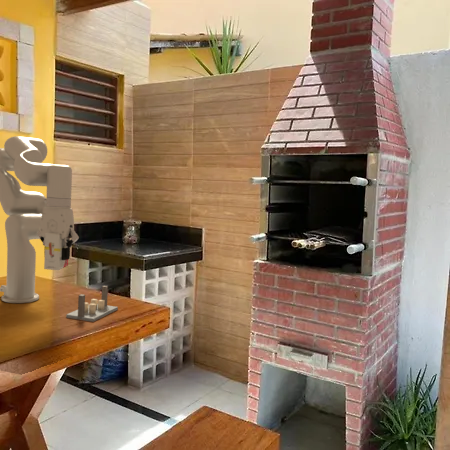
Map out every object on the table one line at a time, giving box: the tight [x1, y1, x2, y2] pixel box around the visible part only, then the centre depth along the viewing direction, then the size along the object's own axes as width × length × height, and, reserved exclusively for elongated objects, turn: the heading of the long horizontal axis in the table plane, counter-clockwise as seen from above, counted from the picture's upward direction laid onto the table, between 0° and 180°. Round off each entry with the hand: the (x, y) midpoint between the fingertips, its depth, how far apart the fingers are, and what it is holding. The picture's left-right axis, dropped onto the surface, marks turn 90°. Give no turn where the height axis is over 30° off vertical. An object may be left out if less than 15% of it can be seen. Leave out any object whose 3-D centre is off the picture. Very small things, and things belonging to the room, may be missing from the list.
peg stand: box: [65, 285, 119, 322], centre depth 158 cm, size 10×16×8 cm, turn 164°
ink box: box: [43, 233, 69, 271], centre depth 150 cm, size 9×5×12 cm, turn 178°
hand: (56, 258), depth 150 cm, fingers closed on ink box, 5 cm apart
